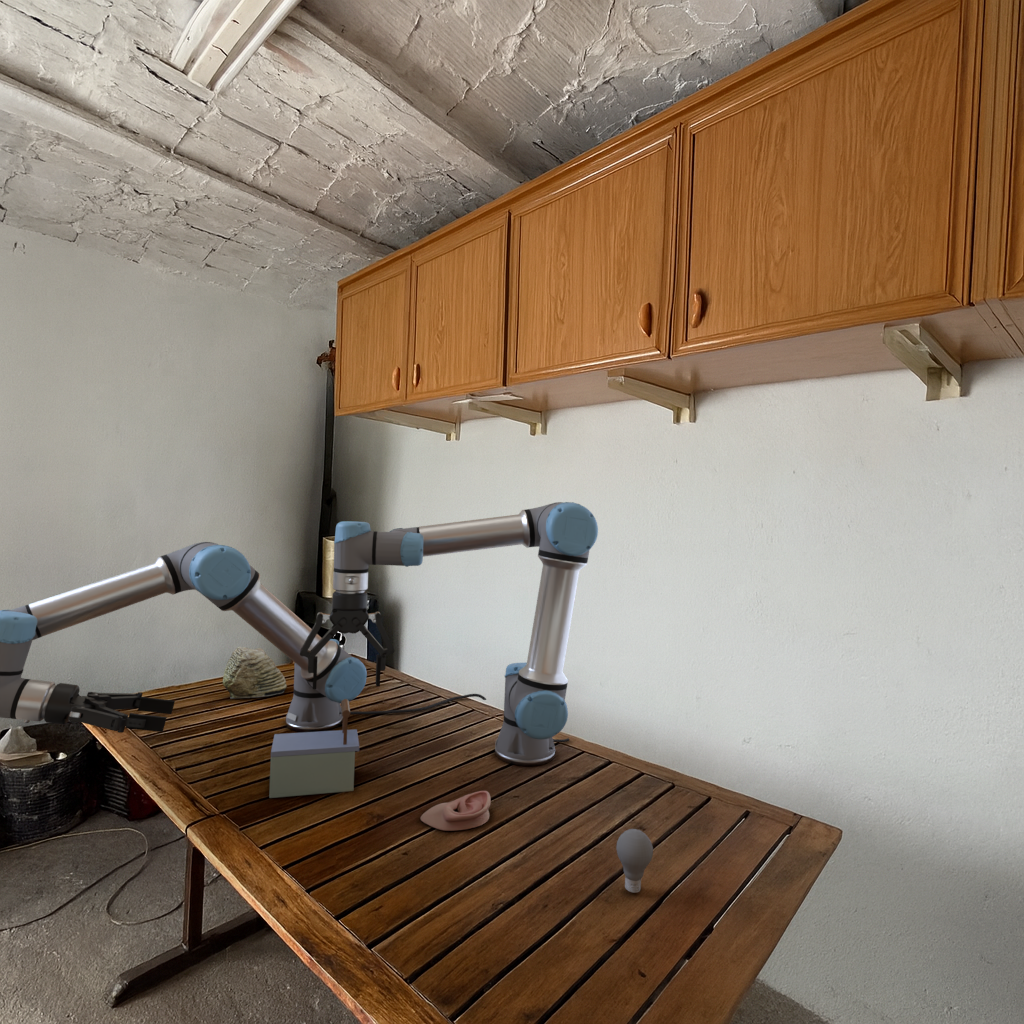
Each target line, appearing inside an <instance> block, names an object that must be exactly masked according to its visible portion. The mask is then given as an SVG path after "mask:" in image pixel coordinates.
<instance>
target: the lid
mask: <svg viewBox="0 0 1024 1024" xmlns="http://www.w3.org/2000/svg"><path fill="white" fill-rule="evenodd" d="M340 706H341V709H342V716H343V722H342V729H339V730H325V731H318V732H288V733H274V735H273V740H272V745H271V750H270V758H271V757H279V756H294V755H308V754H323V753H337V752H352V751H355V752H359V751H360V740H359V735H358V729H357V728H356V729H354V728H353V729H348V722H349V721H348V719H349V718H350V717H351V715H350V712H351V706H350V701H348V700H347V699H343V700H342V701H341V703H340Z"/></svg>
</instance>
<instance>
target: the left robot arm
mask: <svg viewBox="0 0 1024 1024" xmlns="http://www.w3.org/2000/svg"><path fill="white" fill-rule="evenodd" d="M186 591H197V592H198V593H200V595H202V596H204V597H205V598H206V599H207V600H208V601H209V602H211V604H213V605H214V606H216V607H217V608H218V609H219V610H220V611H222V612H229V611H233V612H234V613H235V614H236V615H237V616H238V617H240V618H241V619H242V620H243V621H244V622H246V623H247V624H248V625H249V626H251V627H252V628H253V629H254V630H255V631H257V632H258V634H260V635H261V636H262V637H263V638H265V639H266V640H267V641H268V642H269V643H270V644H272V645H273V646H274V647H275V648H277V650H279V651H280V652H281V653H283V654H284V655H285V656H286V657H287V658H288V659H290V660H291V661H292V662H293V663H294V672H293V695H292V696H293V697H292V699H291V702H290V704H289V708H288V711H287V713H286V715H285V726H286V728H287V729H289V730H291V731H294V732H295V731H296V732H300V733H303V732H320V731H330V730H332V729H335V728H337V727H339V726H340V725H342V724H343V716H342V709H341V701H342V700H343V699H347V700H348V701H349V702H351V701H353V700H354V699H356V698H357V697H359V695H360V694H361V693H362V692H363V690H364V688H365V687H366V684H367V676H368V673H367V668H366V665H365V664H364V663H363V662H362V661H361V660H360V659H359V658H358V657H354V656H352V655H351V654H350V653H349V652H347V650H345V649H344V648H343V647H342V646H341V645H340V641H339V640H338V639H335V638H331V639H330V640H329V641H328V643H327V644H326V645H325V646H324V647H323V648H322V649H321V650H320V651H319V652H318V654H317V655H316V656H318V657H317V684H316V689H313V673H308V658H307V657H304V656H300V650H301V648H302V646H303V644H304V643H305V641H306V639H307V637H308V635H309V634H310V632H311V630H312V627H310V626H309V624H307V623H306V622H304V621H303V620H302V619H301V618H300V617H299V616H298V615H296V614H295V613H294V611H292V610H291V609H290V608H289V607H288V606H287V605H286V604H284V603H283V602H282V601H280V599H278V598H277V597H276V596H275V595H274V594H273V593H272V592H271V591H270V590H268V589H267V588H266V586H264V585H263V584H261V574H260V573H259V572H258V571H257V570H256V569H255V568H254V567H253V566H251V565H250V562H249V561H248V558H247V557H246V556H245V555H244V554H243V553H242V552H240V551H239V550H238V549H236V548H235V547H232V546H229V545H226V544H218V543H215V542H212V541H201V542H196V543H193V544H191V545H188V546H185V547H182V548H180V549H177V550H175V551H171V552H169V553H166V554H164V555H161V556H157V558H156V559H155V562H153V563H150V564H146V565H143V566H141V567H136V568H134V569H131V570H128V571H125V572H121V573H120V574H116V575H113V576H110V577H107V578H104V579H101V580H97V581H94V582H92V583H90V584H85V585H82V586H80V587H77V588H73V589H70V590H67V591H64V592H62V593H59V594H56V595H53V596H49V597H46V598H43V599H40V600H36V601H34V602H31V603H28V604H24V605H22V606H19V607H16V608H13V609H1V610H0V718H1V719H10V720H11V719H12V720H20V721H21V720H22V721H23V723H24V724H29V723H30V722H42V721H44V722H45V723H46V724H47V723H48V724H57V725H66V724H67V723H68V722H74V723H82V724H86V725H90V726H94V727H97V728H101V729H106V730H110V731H113V732H117V733H119V734H123V733H124V732H125V730H126V729H129V730H139V731H150V732H157V733H163V732H164V729H165V725H166V722H167V718H168V717H167V716H159V715H152V714H142V713H132V712H130V713H129V714H128V713H127V714H126V713H124V712H121V711H122V710H123V711H124V710H137V711H139V712H147V713H157V714H165V715H172V713H173V709H174V706H175V702H176V700H171V699H162V698H154V697H147V696H143V692H140V691H138V692H135V693H129V692H128V693H125V692H97V691H96V692H95V691H88V692H87V694H86V695H80V691H81V690H80V686H79V685H78V684H72V683H64V682H59V683H57V684H56V683H55V681H50V680H41V679H32V678H25V677H22V674H23V672H24V667H25V665H26V662H27V658H28V655H29V653H30V649H31V646H32V643H33V641H35V640H38V639H40V638H42V637H45V636H48V635H51V634H54V633H56V632H59V631H62V630H65V629H68V628H70V627H73V626H76V625H79V624H83V623H84V622H87V621H90V620H92V619H96V618H99V617H102V616H104V615H107V614H110V613H112V612H115V611H118V610H121V609H124V608H127V607H130V606H132V605H135V604H138V603H141V602H144V601H147V600H149V599H153V598H155V597H158V596H161V595H164V594H169V595H172V596H173V595H176V594H179V593H182V592H186ZM321 639H322V637H321V636H320V635H319V634H318V633H317V635H316V636H315V638H314V640H313V642H312V644H311V645H310V647H309V649H308V650H309V651H311V650H312V648H313V647H314V646H315V645H316V644H317V643H318V642H319V641H320V640H321ZM472 697H473V698H474V697H476V698H480V699H481V700H483V701H486V700H487V698H486V697H485V696H484V695H482V694H479V693H469V694H468V693H467V694H463V695H457V696H453V697H450V698H449V697H448V698H446V699H444V700H441V701H437V702H435V703H433V704H431V705H427V706H423V707H417V708H408V709H407V708H406V709H393V710H391V709H390V710H373V711H372V710H371V711H357V710H356V711H355V710H353V711H350V716H351V715H352V716H353V715H354V716H355V715H359V716H360V715H362V716H363V715H364V716H365V715H367V716H371V715H390V714H403V713H404V714H405V713H414V712H415V713H416V712H421V711H425V710H429V709H432V708H435V707H438V706H440V705H444V704H448V703H449V702H452V701H456V700H462V699H467V698H472Z"/></svg>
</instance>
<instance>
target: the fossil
mask: <svg viewBox="0 0 1024 1024" xmlns="http://www.w3.org/2000/svg"><path fill="white" fill-rule="evenodd" d="M222 676H223V677H222V685H223V687H224V688H225V690H226V691H228V693H229V698H230V699H250V698H264V697H271V696H275V695H281V694H284V693H285V691H286V689H287V687H288V686H287V680H286V678H285V676H284V674H283V673H282V672H281V669H279V668H278V667H277V665H276V663H275V662H274V660H273V659H272V658H271V657H270V656H269V655H268V654H267V653H266V652H265V650H264V649H263V648H260V647H258V648H251V647H247V646H246V647H245V646H238V647H237V648H236V649H235V650H233V651H232V653H231V656H230V657H229V659H228V660H227V663H226V666H225V668H224V671H223V675H222Z"/></svg>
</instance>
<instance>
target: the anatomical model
mask: <svg viewBox="0 0 1024 1024" xmlns="http://www.w3.org/2000/svg"><path fill="white" fill-rule="evenodd" d="M491 799H492V798H491V793H490V792H489V791H488V790H478V791H475V792H472V793H468V794H465V795H463V796H461V797H459V798H457V799H455V800H451V801H449V802H441V803H438V804H436V805H434V806H432V807H430V808H429V809H427V810H426V811H425V812H424V813H423V814H421V816H420V817H419V818H420V821H421V822H423V823H424V824H426V825H428V826H429V827H431V828H434V829H437V830H440V831H443V832H445V831H446V832H449V831H450V832H452V831H464V830H469V829H474V828H477V827H480V826H482V825H485V824H486V823H487V822H488V821H489V820H490V810H489V809H490V807H491V803H492V801H491Z"/></svg>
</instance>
